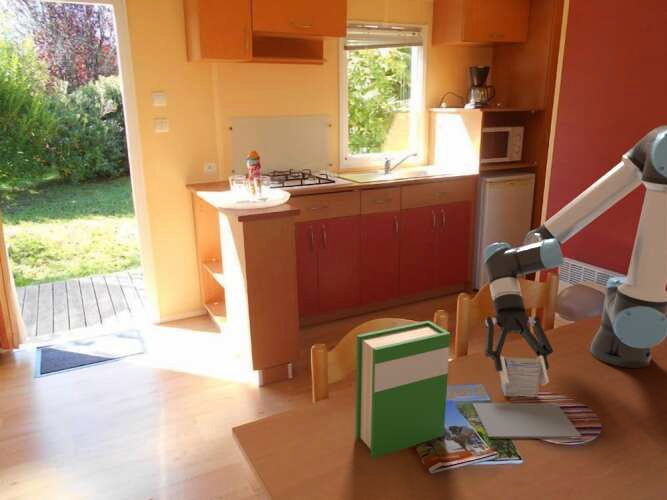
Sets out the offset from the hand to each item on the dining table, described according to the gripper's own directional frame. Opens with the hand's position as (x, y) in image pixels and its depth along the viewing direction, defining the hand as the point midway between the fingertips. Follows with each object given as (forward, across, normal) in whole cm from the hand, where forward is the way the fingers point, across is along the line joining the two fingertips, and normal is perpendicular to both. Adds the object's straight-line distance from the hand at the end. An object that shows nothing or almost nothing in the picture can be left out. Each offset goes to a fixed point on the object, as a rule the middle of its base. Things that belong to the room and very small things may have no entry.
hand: (525, 383), depth 125 cm
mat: (+9, +3, +3) cm, 10 cm away
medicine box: (+1, 0, -6) cm, 6 cm away
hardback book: (+13, +33, +6) cm, 36 cm away
